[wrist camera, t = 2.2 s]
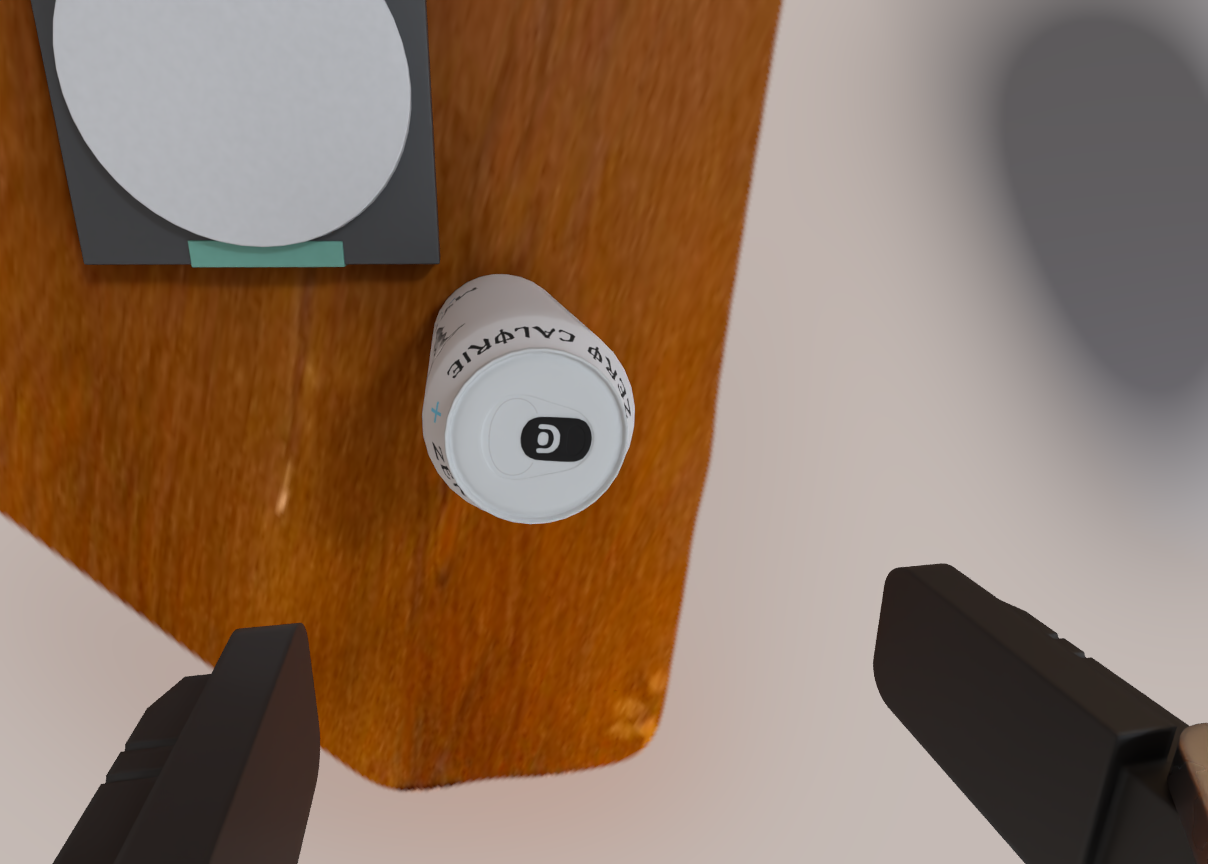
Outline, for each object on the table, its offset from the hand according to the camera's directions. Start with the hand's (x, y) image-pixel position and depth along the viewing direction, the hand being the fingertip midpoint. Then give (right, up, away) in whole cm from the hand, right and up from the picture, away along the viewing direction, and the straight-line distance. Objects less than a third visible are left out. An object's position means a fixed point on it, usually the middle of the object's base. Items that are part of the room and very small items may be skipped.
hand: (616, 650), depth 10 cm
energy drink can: (-5, +7, +23) cm, 25 cm away
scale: (-14, +16, +18) cm, 28 cm away
